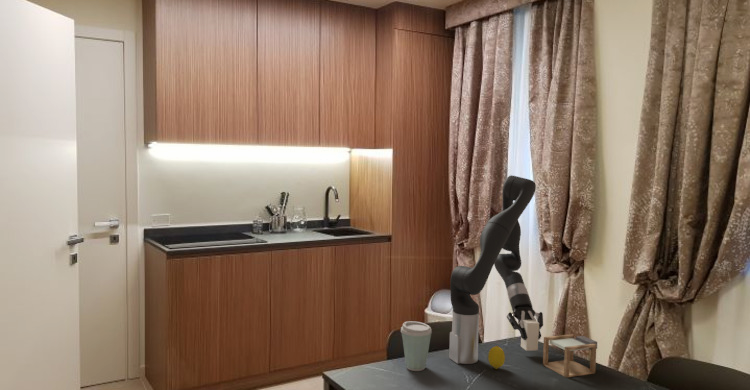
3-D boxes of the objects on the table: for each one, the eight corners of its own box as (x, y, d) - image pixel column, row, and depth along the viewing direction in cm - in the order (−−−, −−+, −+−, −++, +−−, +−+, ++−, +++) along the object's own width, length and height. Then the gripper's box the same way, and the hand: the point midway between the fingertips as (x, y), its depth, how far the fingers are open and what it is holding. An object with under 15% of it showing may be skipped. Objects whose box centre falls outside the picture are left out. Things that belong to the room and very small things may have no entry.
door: (567, 353, 177) (568, 346, 177) (549, 345, 186) (549, 338, 186) (599, 349, 182) (599, 342, 182) (580, 341, 190) (580, 334, 190)
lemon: (504, 372, 179) (505, 349, 179) (487, 371, 180) (488, 347, 180) (504, 366, 184) (504, 343, 184) (487, 365, 185) (488, 342, 185)
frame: (566, 377, 176) (567, 348, 175) (542, 364, 187) (543, 337, 187) (595, 373, 180) (596, 344, 179) (570, 361, 191) (571, 334, 191)
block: (526, 350, 193) (527, 323, 192) (520, 346, 197) (522, 319, 197) (537, 350, 194) (539, 323, 193) (532, 346, 198) (533, 319, 198)
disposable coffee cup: (433, 364, 186) (434, 321, 185) (429, 375, 175) (430, 330, 175) (402, 361, 188) (403, 318, 187) (397, 372, 178) (398, 327, 177)
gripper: (504, 292, 200) (517, 334, 189) (540, 292, 203) (554, 333, 192) (498, 303, 206) (510, 344, 195) (532, 302, 209) (546, 343, 197)
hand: (532, 338), depth 193 cm, fingers closed on block, 4 cm apart
